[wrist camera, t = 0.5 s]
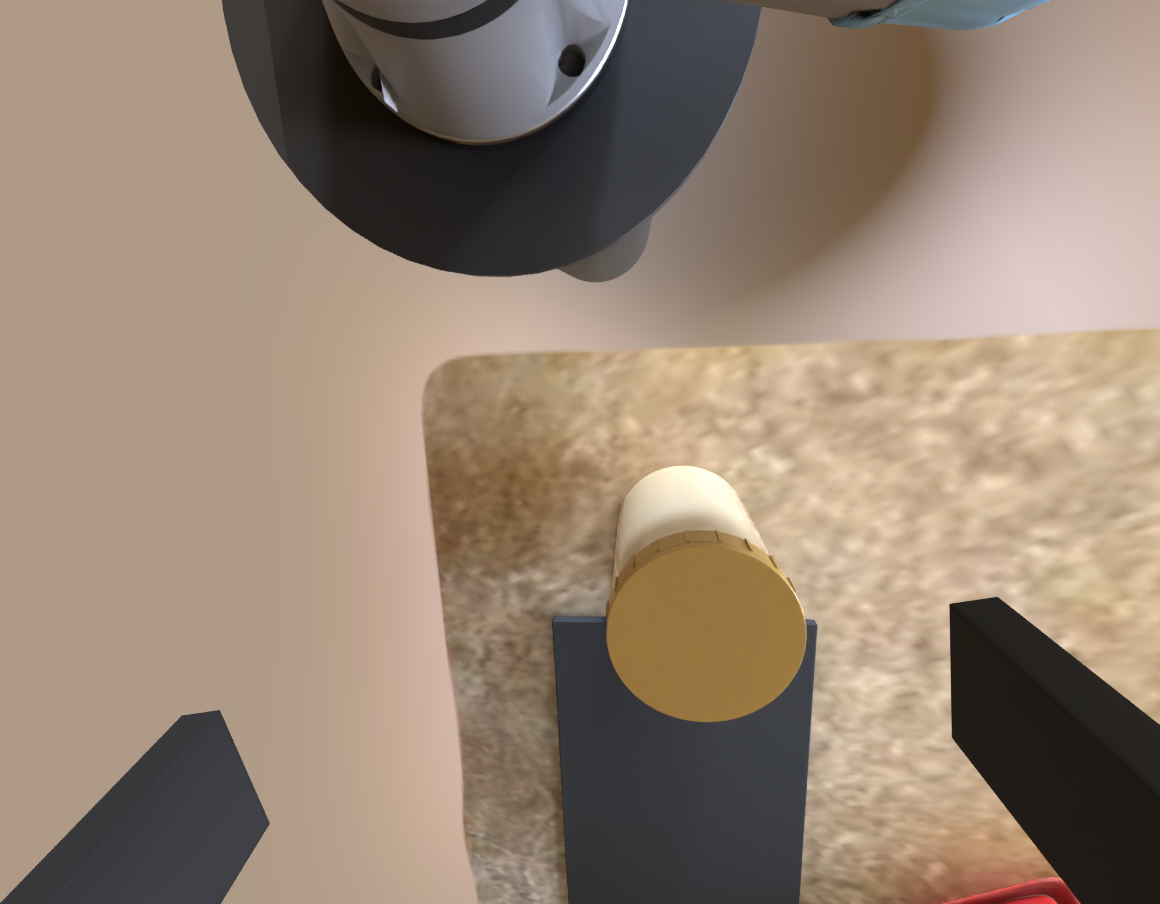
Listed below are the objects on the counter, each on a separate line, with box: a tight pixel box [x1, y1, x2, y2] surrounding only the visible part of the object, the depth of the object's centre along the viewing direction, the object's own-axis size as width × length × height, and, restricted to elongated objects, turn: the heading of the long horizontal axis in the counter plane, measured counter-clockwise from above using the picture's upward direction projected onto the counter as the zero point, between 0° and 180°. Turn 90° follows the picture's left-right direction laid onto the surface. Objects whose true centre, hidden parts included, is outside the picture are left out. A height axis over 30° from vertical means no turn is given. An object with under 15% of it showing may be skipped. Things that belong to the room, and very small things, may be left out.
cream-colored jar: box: [612, 466, 771, 588], centre depth 29 cm, size 8×8×11 cm
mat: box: [552, 617, 817, 904], centre depth 38 cm, size 26×16×1 cm, turn 2°
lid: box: [605, 530, 807, 722], centre depth 23 cm, size 8×8×2 cm
